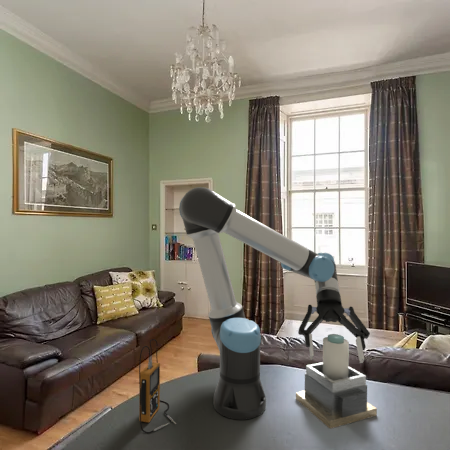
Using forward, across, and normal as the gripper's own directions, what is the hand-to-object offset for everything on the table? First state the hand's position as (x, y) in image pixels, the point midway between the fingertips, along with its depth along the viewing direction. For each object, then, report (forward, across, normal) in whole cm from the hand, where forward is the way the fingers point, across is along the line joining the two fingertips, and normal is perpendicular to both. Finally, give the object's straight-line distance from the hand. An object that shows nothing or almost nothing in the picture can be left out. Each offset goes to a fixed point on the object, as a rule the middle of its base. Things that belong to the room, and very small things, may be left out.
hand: (336, 359), depth 90 cm
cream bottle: (+3, 0, -6) cm, 7 cm away
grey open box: (+9, 0, -12) cm, 15 cm away
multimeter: (+18, +47, -3) cm, 51 cm away
